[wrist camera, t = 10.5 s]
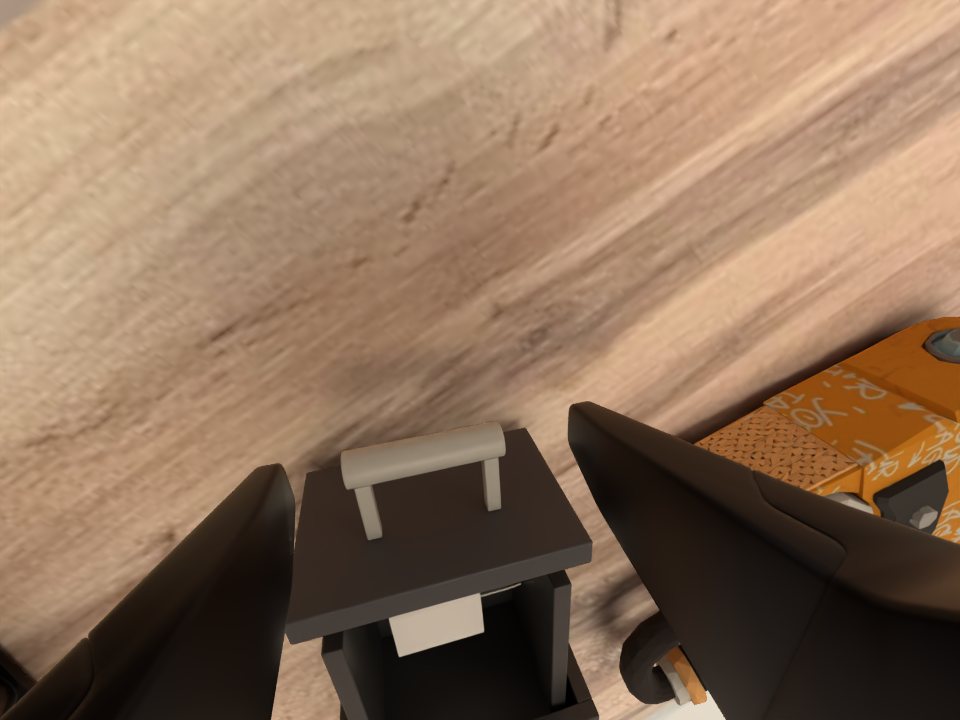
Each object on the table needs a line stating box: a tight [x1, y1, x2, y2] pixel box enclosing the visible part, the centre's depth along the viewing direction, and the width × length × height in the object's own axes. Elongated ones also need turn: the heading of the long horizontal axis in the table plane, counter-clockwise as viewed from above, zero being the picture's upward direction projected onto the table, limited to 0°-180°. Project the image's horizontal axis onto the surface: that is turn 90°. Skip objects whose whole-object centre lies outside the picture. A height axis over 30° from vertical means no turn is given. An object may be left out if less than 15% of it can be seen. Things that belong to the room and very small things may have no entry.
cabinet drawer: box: [285, 421, 593, 720], centre depth 21 cm, size 18×11×8 cm, turn 4°
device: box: [619, 317, 960, 706], centre depth 29 cm, size 23×8×30 cm
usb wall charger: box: [389, 582, 522, 657], centre depth 23 cm, size 4×7×4 cm, turn 94°
